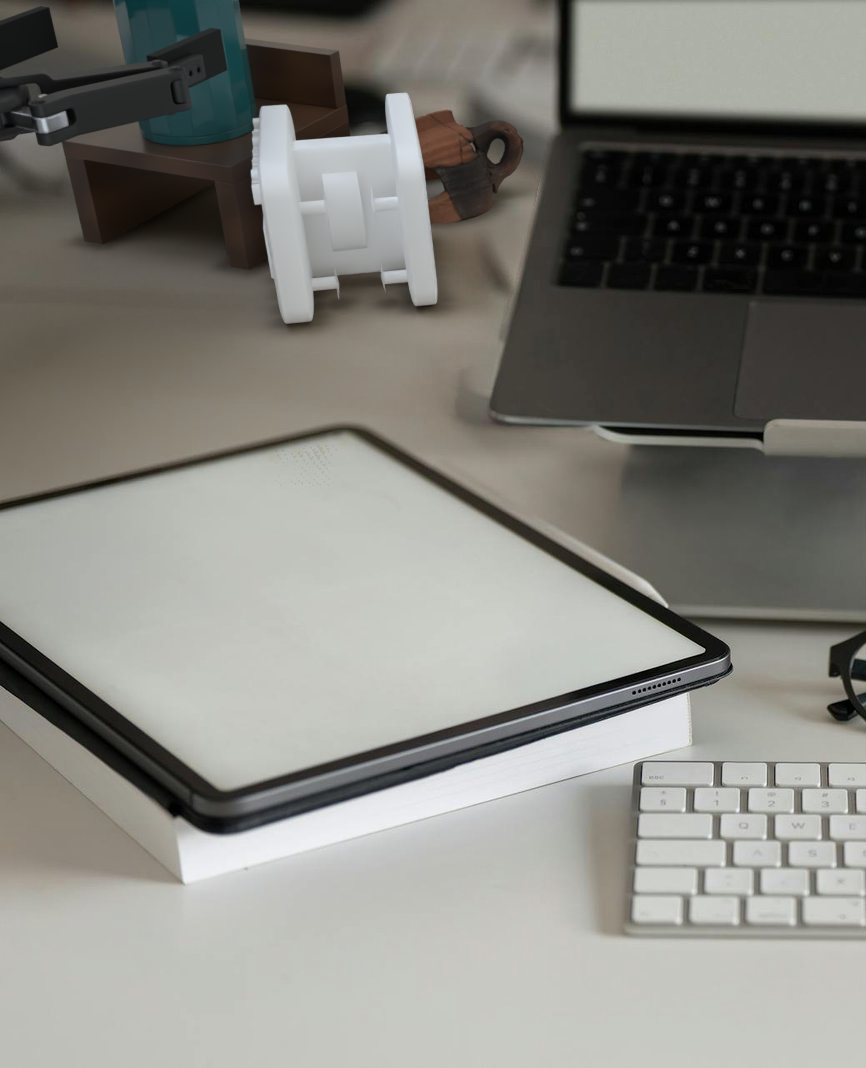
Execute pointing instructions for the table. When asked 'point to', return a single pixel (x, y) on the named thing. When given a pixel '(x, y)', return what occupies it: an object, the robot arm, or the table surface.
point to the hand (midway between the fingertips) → (133, 37)
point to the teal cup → (217, 103)
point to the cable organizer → (342, 207)
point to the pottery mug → (464, 163)
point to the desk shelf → (205, 155)
